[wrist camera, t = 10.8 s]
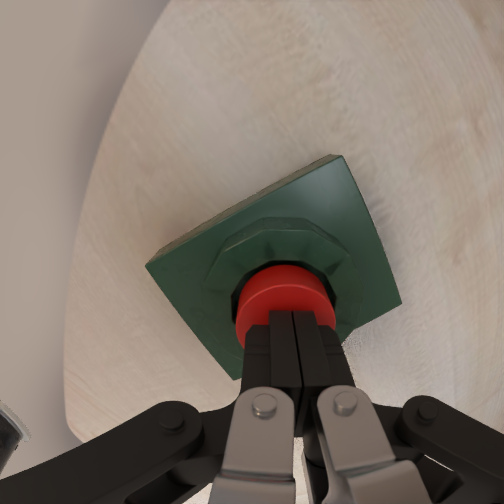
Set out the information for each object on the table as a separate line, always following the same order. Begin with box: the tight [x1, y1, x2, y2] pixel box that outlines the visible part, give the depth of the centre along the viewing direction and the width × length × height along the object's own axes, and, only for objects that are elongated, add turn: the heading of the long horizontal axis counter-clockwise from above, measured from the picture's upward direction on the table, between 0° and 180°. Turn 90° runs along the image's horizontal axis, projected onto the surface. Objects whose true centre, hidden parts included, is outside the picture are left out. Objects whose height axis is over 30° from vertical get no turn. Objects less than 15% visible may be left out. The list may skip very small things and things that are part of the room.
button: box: [236, 265, 336, 348], centre depth 11 cm, size 4×4×2 cm
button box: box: [145, 154, 402, 380], centre depth 13 cm, size 10×8×4 cm
